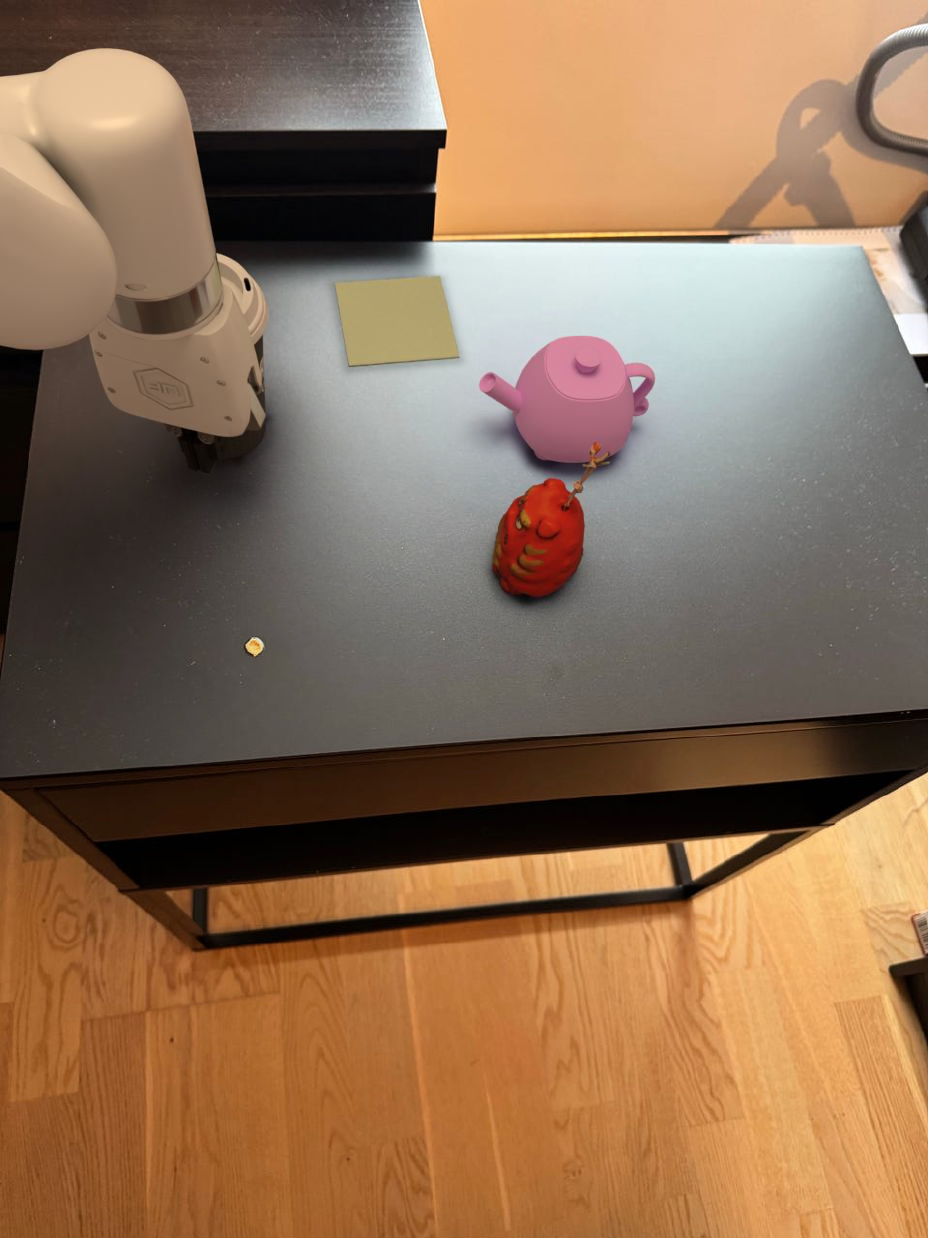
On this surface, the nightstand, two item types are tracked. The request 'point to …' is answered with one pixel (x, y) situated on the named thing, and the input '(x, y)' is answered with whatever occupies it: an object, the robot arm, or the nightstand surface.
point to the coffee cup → (256, 321)
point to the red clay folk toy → (542, 536)
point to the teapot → (574, 398)
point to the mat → (395, 321)
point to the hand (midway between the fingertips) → (206, 457)
